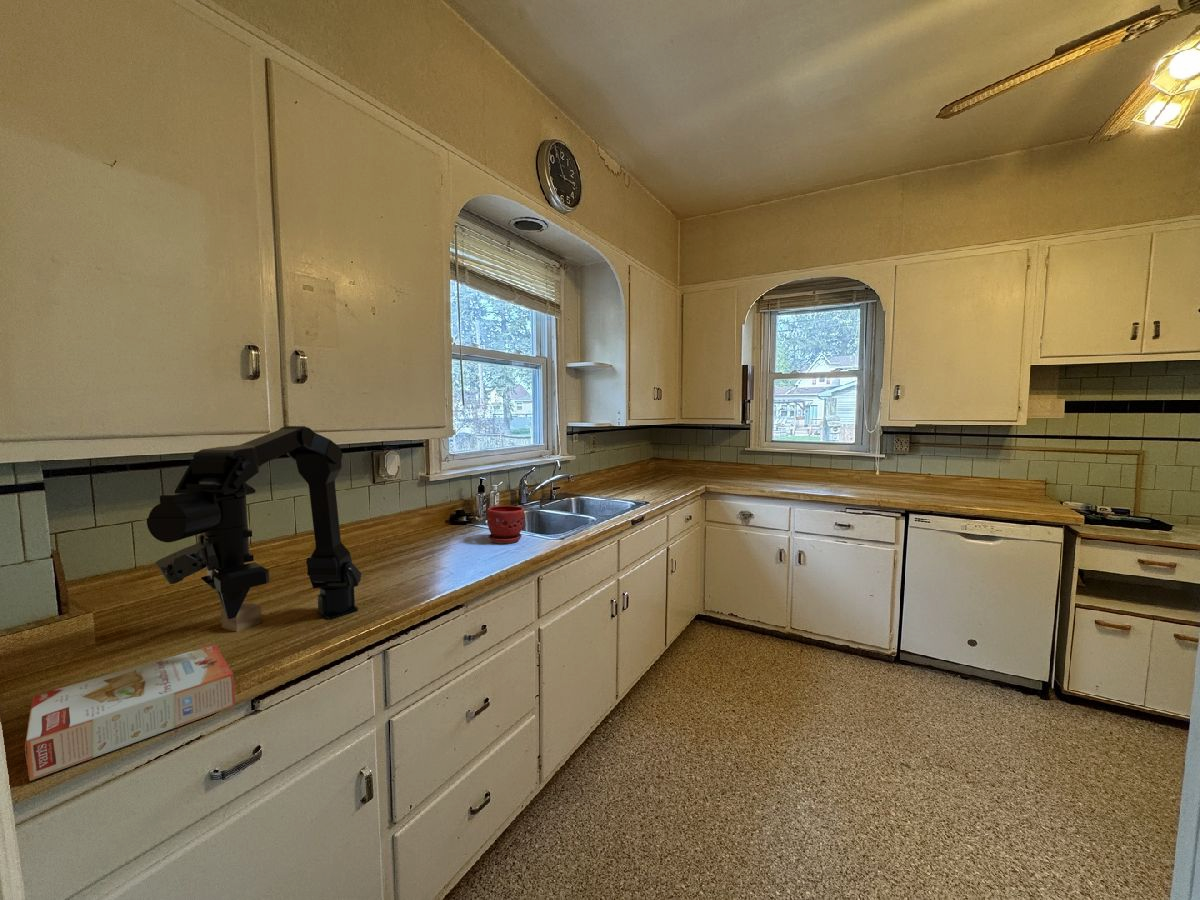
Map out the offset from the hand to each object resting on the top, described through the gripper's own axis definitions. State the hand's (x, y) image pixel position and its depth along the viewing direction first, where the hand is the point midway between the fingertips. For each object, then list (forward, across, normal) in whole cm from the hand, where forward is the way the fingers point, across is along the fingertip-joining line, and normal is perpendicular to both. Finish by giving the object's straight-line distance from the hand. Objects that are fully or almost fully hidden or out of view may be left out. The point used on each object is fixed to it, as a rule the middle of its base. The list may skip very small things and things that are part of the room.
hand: (231, 617), depth 78 cm
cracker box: (+9, 0, -1) cm, 9 cm away
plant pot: (+12, -35, +88) cm, 96 cm away
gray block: (+12, -27, +8) cm, 31 cm away
